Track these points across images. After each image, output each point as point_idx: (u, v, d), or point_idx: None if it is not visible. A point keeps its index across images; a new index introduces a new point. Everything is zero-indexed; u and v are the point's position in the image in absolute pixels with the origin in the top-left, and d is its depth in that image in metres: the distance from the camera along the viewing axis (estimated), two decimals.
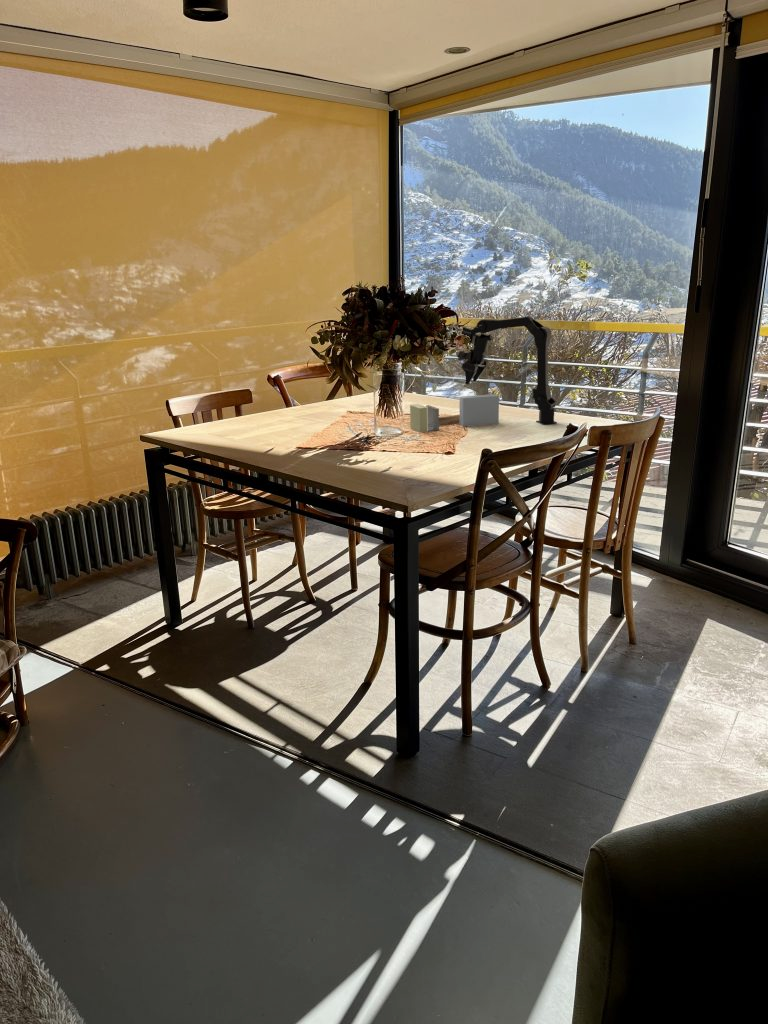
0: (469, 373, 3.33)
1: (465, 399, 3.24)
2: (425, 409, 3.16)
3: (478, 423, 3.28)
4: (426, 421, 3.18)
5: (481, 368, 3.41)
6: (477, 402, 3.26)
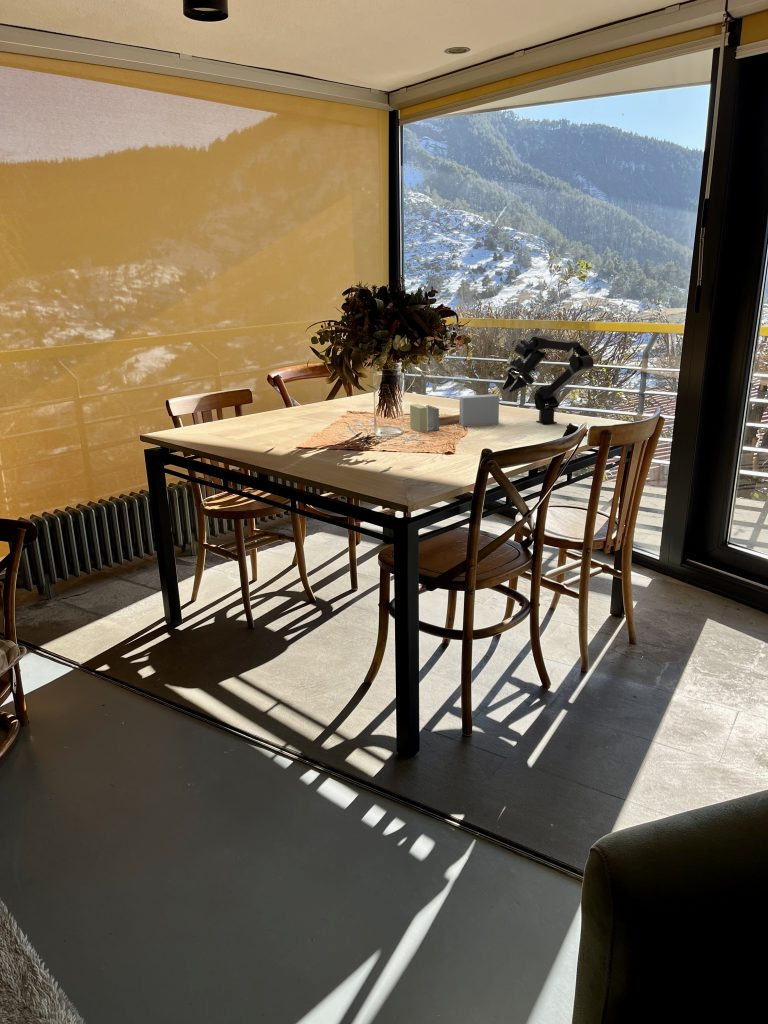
0: (519, 383, 3.24)
1: (465, 399, 3.24)
2: (425, 409, 3.16)
3: (478, 423, 3.28)
4: (426, 421, 3.18)
5: (514, 380, 3.33)
6: (477, 402, 3.25)
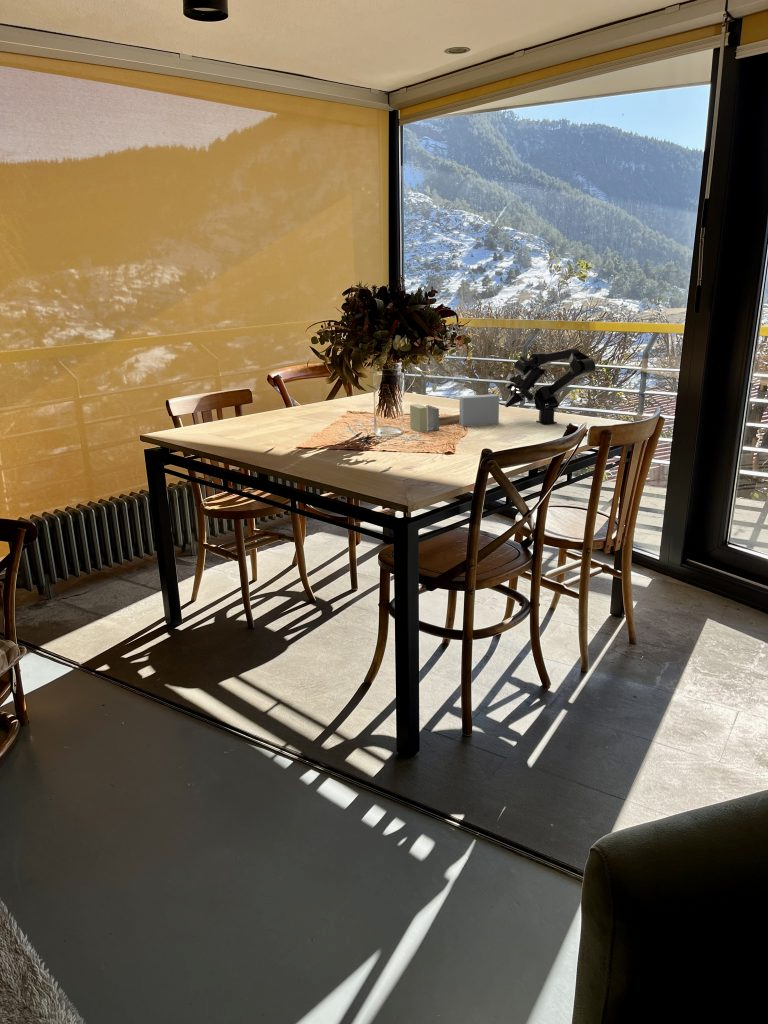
0: (515, 398, 3.30)
1: (465, 399, 3.24)
2: (425, 409, 3.16)
3: (478, 423, 3.28)
4: (426, 421, 3.18)
5: None
6: (477, 402, 3.26)
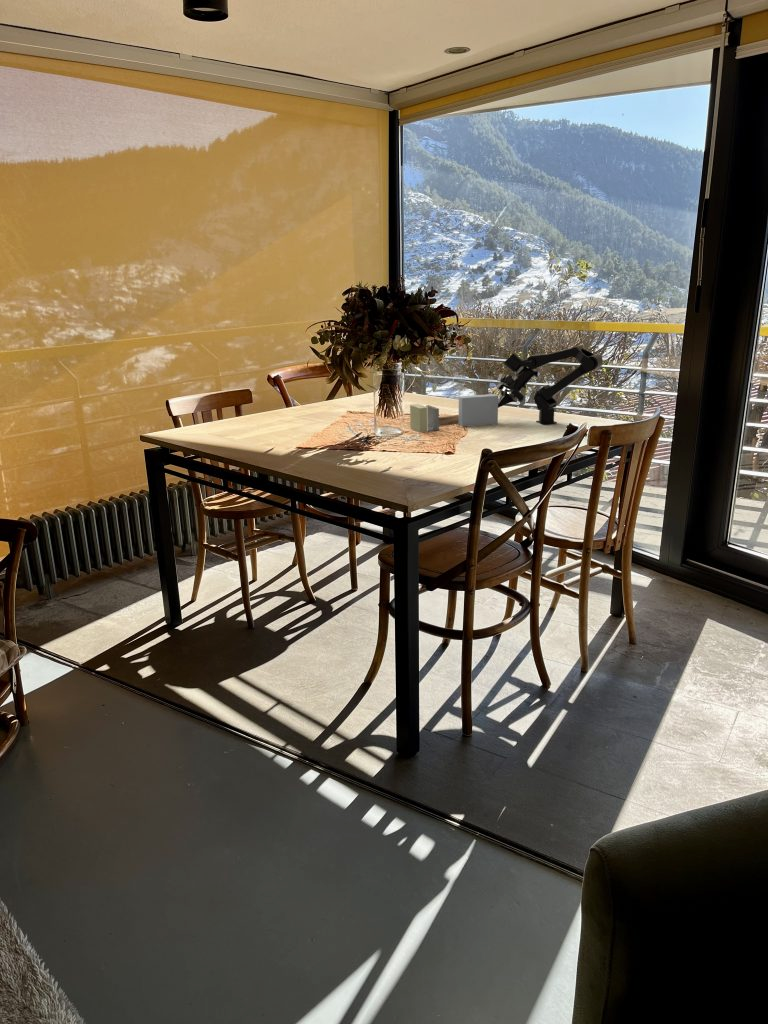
0: (506, 398, 3.29)
1: (464, 399, 3.24)
2: (425, 409, 3.16)
3: (477, 423, 3.28)
4: (426, 421, 3.18)
5: None
6: (476, 402, 3.25)
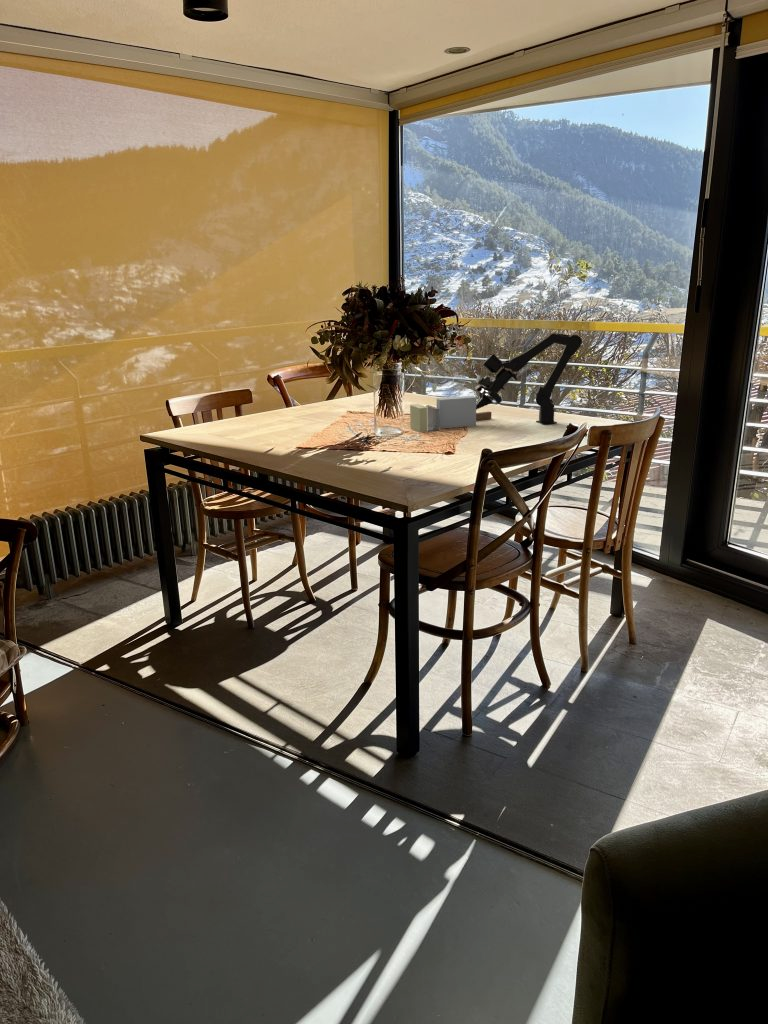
0: (484, 400, 3.27)
1: (442, 401, 3.21)
2: (425, 409, 3.16)
3: (455, 425, 3.26)
4: (426, 421, 3.18)
5: None
6: (454, 404, 3.23)
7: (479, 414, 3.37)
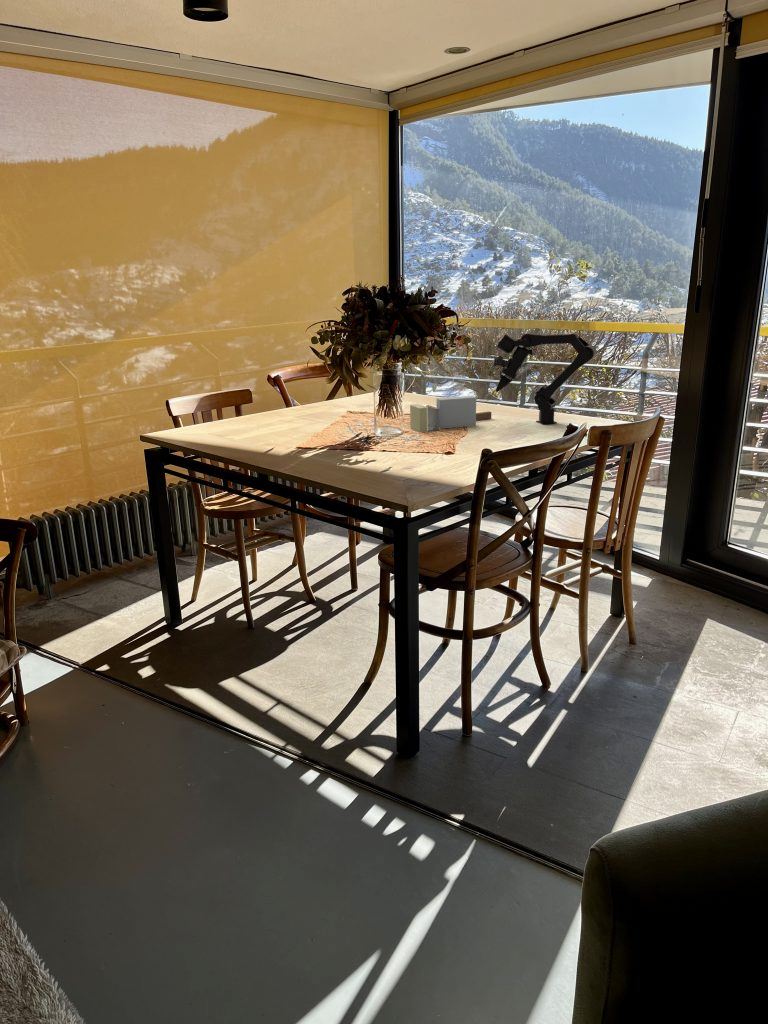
0: (503, 381, 3.27)
1: (442, 401, 3.21)
2: (425, 409, 3.16)
3: (455, 425, 3.26)
4: (426, 421, 3.18)
5: None
6: (454, 404, 3.23)
7: (479, 414, 3.37)
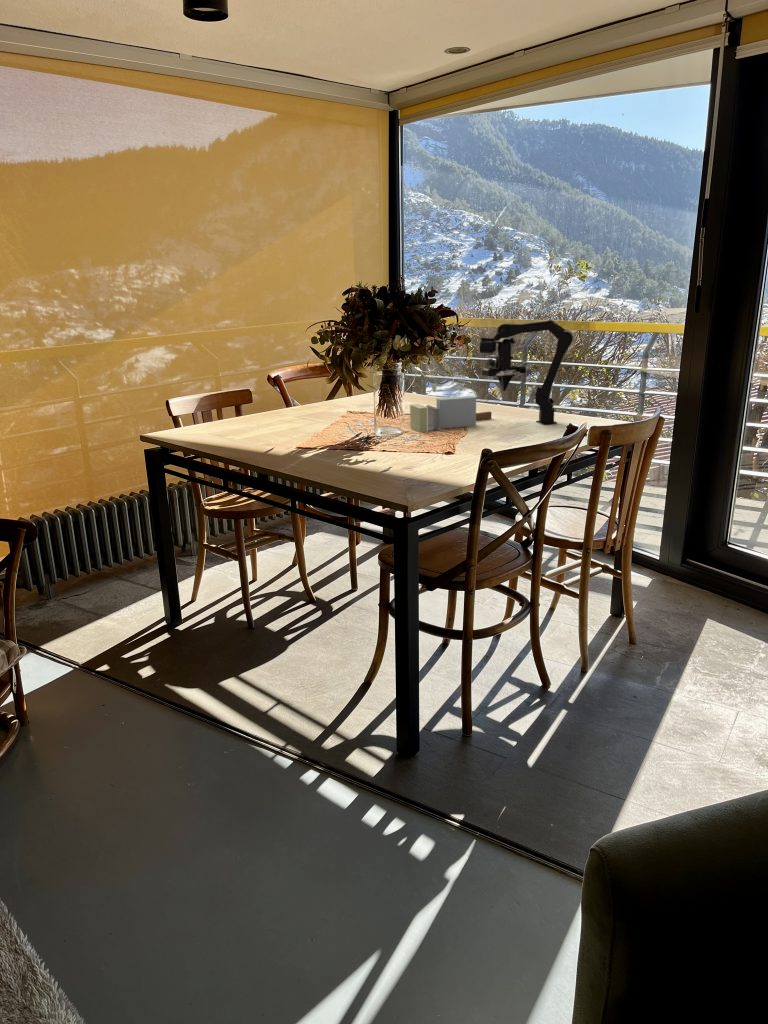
0: (501, 379, 3.29)
1: (442, 401, 3.21)
2: (425, 409, 3.16)
3: (455, 425, 3.26)
4: (426, 421, 3.18)
5: (507, 376, 3.28)
6: (454, 404, 3.23)
7: (479, 414, 3.37)
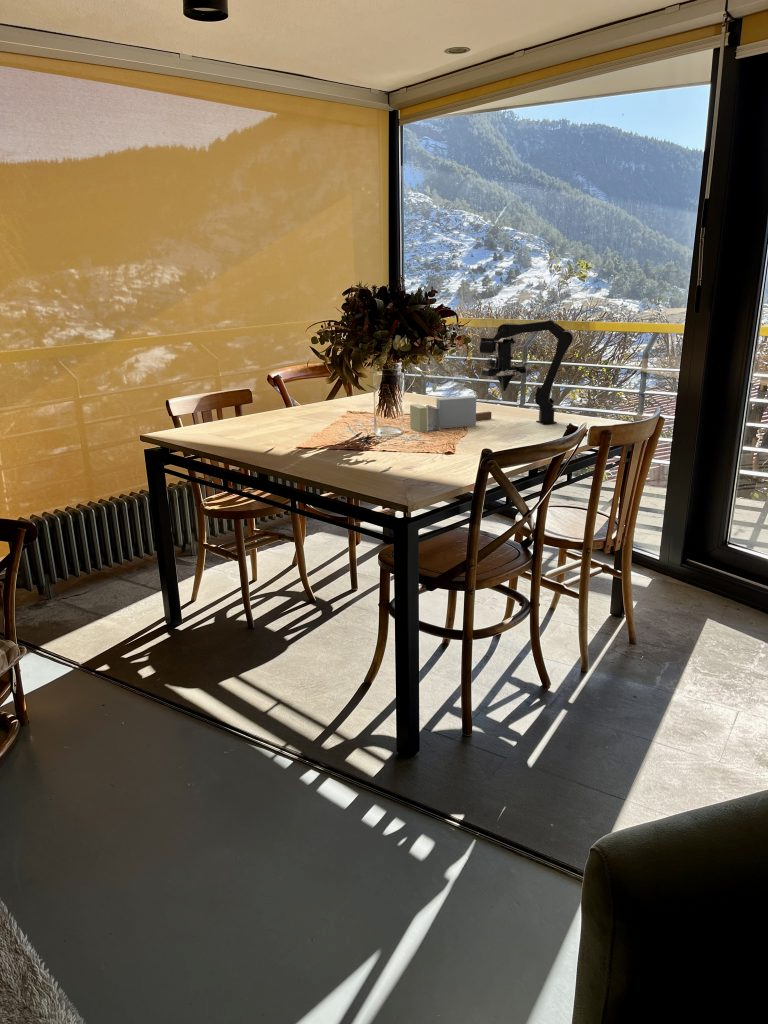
0: (501, 379, 3.29)
1: (442, 401, 3.21)
2: (425, 409, 3.16)
3: (455, 425, 3.26)
4: (426, 421, 3.18)
5: (507, 376, 3.28)
6: (454, 404, 3.23)
7: (479, 414, 3.37)
